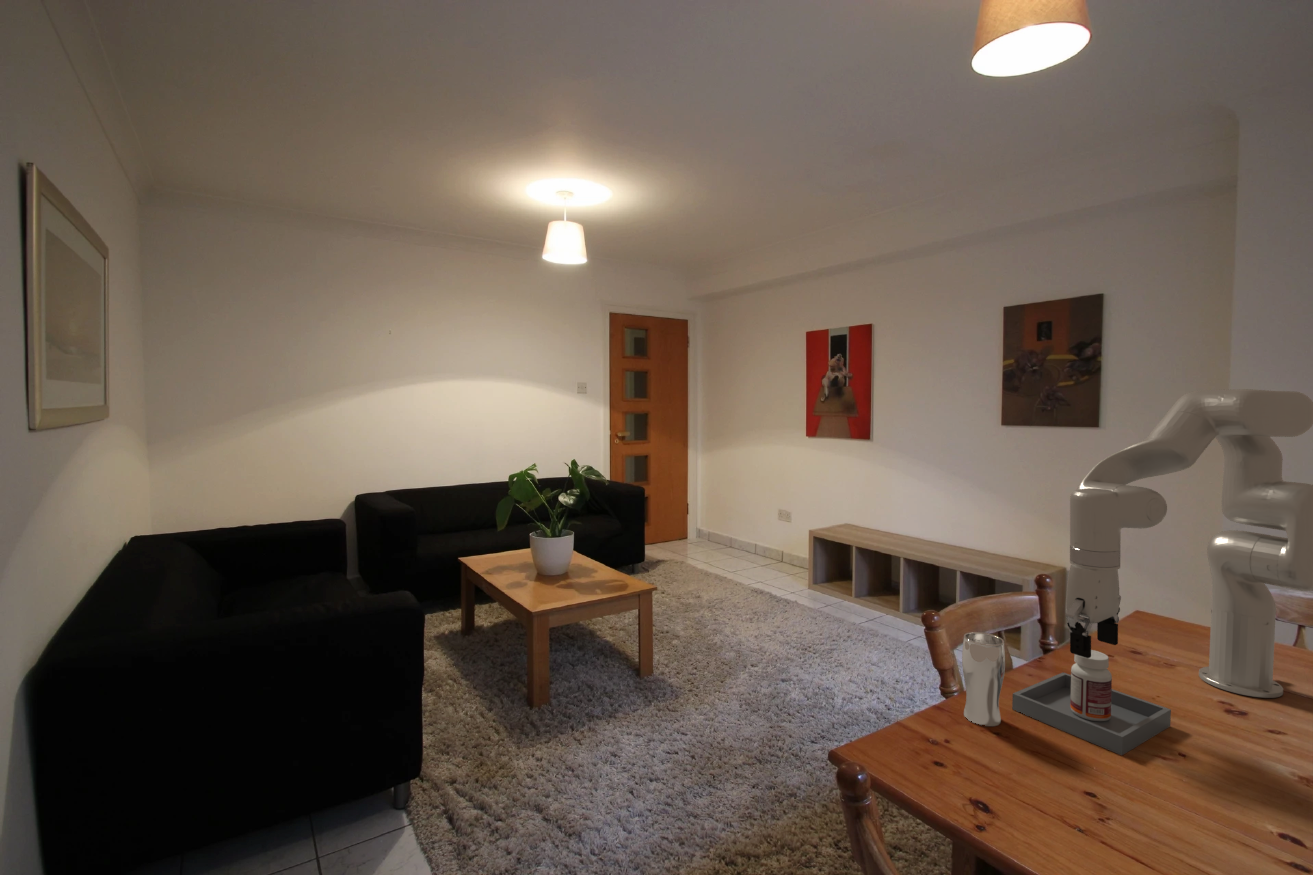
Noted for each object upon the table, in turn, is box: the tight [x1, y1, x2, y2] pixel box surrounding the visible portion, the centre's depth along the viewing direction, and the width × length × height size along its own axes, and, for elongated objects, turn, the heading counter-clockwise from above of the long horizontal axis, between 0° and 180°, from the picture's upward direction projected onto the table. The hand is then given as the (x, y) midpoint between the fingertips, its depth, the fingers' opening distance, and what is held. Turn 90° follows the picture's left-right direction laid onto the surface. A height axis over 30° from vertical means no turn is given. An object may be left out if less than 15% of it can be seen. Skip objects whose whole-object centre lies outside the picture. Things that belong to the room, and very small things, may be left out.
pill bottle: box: [1070, 649, 1113, 721], centre depth 114 cm, size 6×6×11 cm
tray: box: [1011, 671, 1172, 756], centre depth 114 cm, size 18×18×3 cm
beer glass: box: [961, 631, 1006, 727], centre depth 114 cm, size 7×7×15 cm
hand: (1094, 648), depth 114 cm, fingers open, 9 cm apart
